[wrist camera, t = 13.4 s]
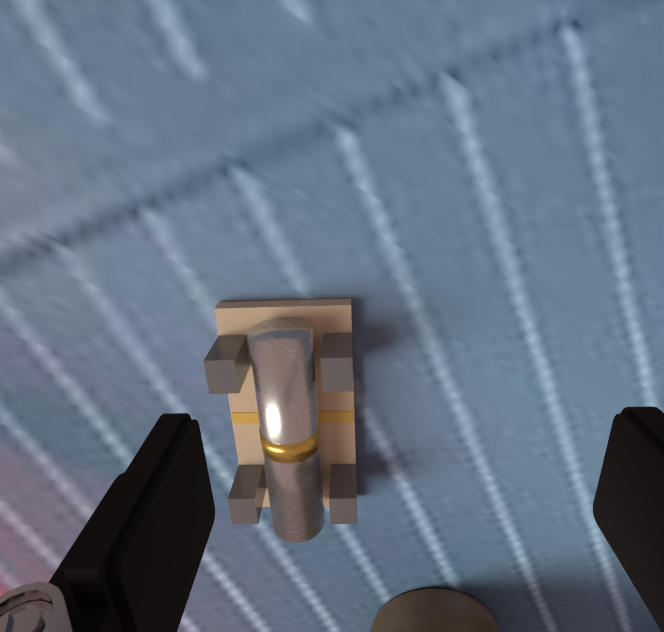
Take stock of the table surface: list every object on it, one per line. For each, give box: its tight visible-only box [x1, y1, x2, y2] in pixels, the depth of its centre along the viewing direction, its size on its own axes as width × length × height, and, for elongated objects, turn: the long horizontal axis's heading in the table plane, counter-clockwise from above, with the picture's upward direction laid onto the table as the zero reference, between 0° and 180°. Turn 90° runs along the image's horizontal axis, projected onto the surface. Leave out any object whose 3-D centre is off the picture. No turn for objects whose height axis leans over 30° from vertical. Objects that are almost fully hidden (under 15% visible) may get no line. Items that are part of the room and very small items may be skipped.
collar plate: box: [204, 298, 357, 524], centre depth 41 cm, size 11×22×6 cm, turn 3°
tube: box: [248, 317, 325, 542], centre depth 40 cm, size 20×5×5 cm, turn 3°
